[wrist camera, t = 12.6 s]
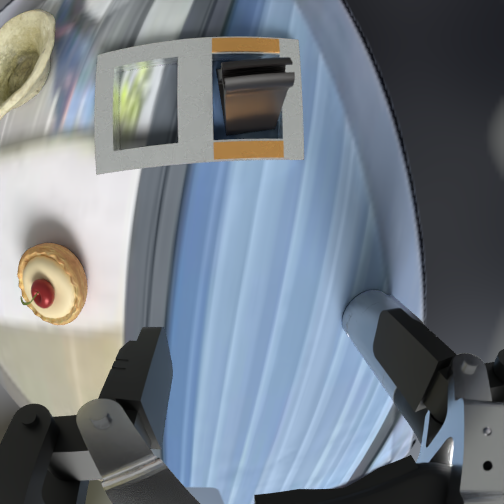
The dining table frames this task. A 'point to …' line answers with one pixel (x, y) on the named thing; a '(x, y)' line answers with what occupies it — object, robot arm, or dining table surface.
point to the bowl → (24, 57)
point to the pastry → (52, 283)
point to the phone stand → (253, 93)
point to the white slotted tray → (194, 104)
